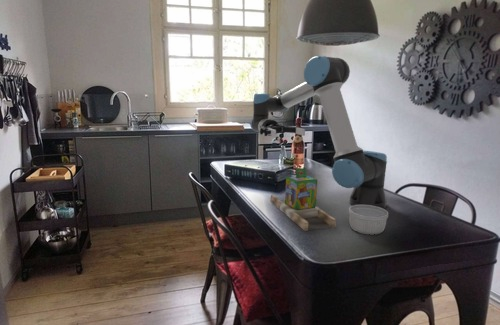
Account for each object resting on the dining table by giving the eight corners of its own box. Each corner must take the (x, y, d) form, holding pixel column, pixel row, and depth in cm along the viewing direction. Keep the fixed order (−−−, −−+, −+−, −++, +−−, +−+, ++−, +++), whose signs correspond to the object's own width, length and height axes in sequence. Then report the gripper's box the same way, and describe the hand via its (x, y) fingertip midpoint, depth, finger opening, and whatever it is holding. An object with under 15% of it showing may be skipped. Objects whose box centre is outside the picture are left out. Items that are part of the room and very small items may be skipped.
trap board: (270, 201, 150) (270, 194, 150) (295, 199, 154) (295, 192, 153) (304, 230, 120) (305, 222, 119) (335, 227, 123) (335, 219, 123)
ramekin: (342, 221, 129) (343, 204, 127) (376, 221, 130) (378, 203, 128) (355, 236, 116) (357, 217, 114) (393, 236, 117) (395, 217, 115)
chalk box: (296, 211, 130) (298, 172, 127) (283, 203, 138) (285, 167, 135) (316, 207, 134) (318, 170, 131) (303, 200, 142) (305, 165, 139)
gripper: (291, 134, 169) (315, 140, 150) (243, 136, 160) (262, 142, 140) (292, 118, 167) (316, 123, 148) (244, 119, 158) (262, 124, 139)
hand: (289, 132), depth 144 cm, fingers open, 13 cm apart
